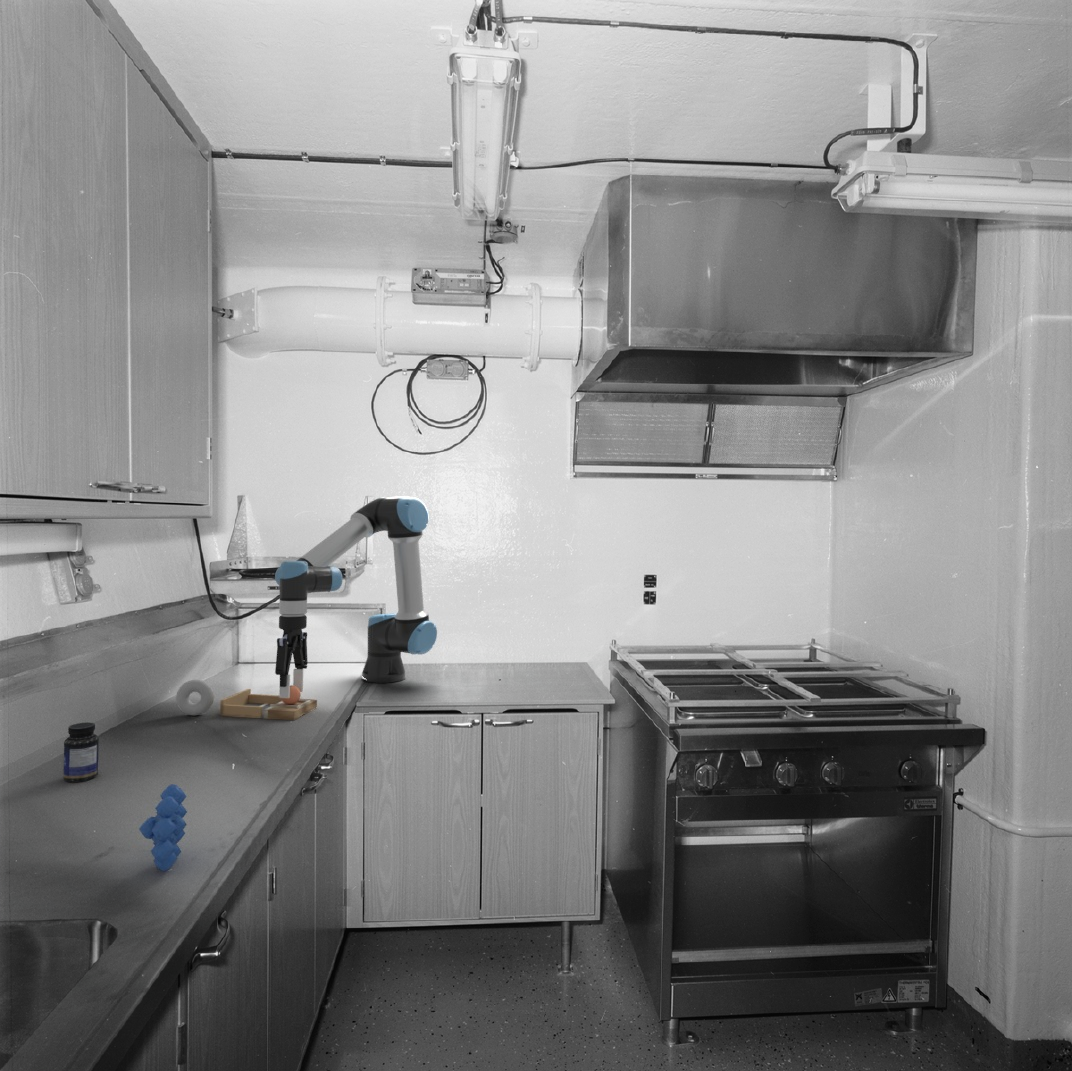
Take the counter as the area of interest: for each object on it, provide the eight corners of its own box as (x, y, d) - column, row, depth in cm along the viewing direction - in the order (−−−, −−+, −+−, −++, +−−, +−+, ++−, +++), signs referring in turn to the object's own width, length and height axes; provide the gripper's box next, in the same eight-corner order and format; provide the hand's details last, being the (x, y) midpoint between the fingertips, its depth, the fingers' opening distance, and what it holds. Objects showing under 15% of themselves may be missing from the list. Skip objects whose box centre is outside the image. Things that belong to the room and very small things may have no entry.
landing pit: (247, 703, 209) (247, 689, 209) (288, 706, 208) (288, 691, 208) (220, 715, 195) (220, 700, 195) (263, 718, 194) (263, 702, 194)
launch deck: (288, 706, 208) (288, 695, 208) (316, 707, 206) (316, 697, 206) (263, 718, 194) (263, 707, 194) (294, 720, 192) (294, 709, 192)
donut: (215, 713, 198) (216, 678, 198) (211, 716, 194) (212, 680, 194) (178, 713, 196) (178, 678, 196) (173, 717, 193) (174, 681, 193)
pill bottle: (67, 774, 148) (68, 722, 148) (101, 771, 150) (102, 720, 150) (59, 784, 142) (60, 730, 142) (94, 781, 144) (95, 728, 144)
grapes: (148, 849, 114) (149, 776, 114) (193, 845, 116) (194, 773, 116) (127, 884, 103) (129, 804, 103) (178, 879, 105) (179, 800, 105)
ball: (286, 701, 203) (286, 683, 203) (303, 702, 202) (304, 684, 202) (277, 706, 198) (277, 687, 198) (294, 707, 197) (295, 688, 197)
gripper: (297, 610, 210) (295, 686, 210) (262, 618, 190) (260, 702, 190) (320, 611, 209) (319, 687, 209) (288, 619, 189) (286, 703, 189)
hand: (291, 694), depth 200 cm, fingers open, 7 cm apart
